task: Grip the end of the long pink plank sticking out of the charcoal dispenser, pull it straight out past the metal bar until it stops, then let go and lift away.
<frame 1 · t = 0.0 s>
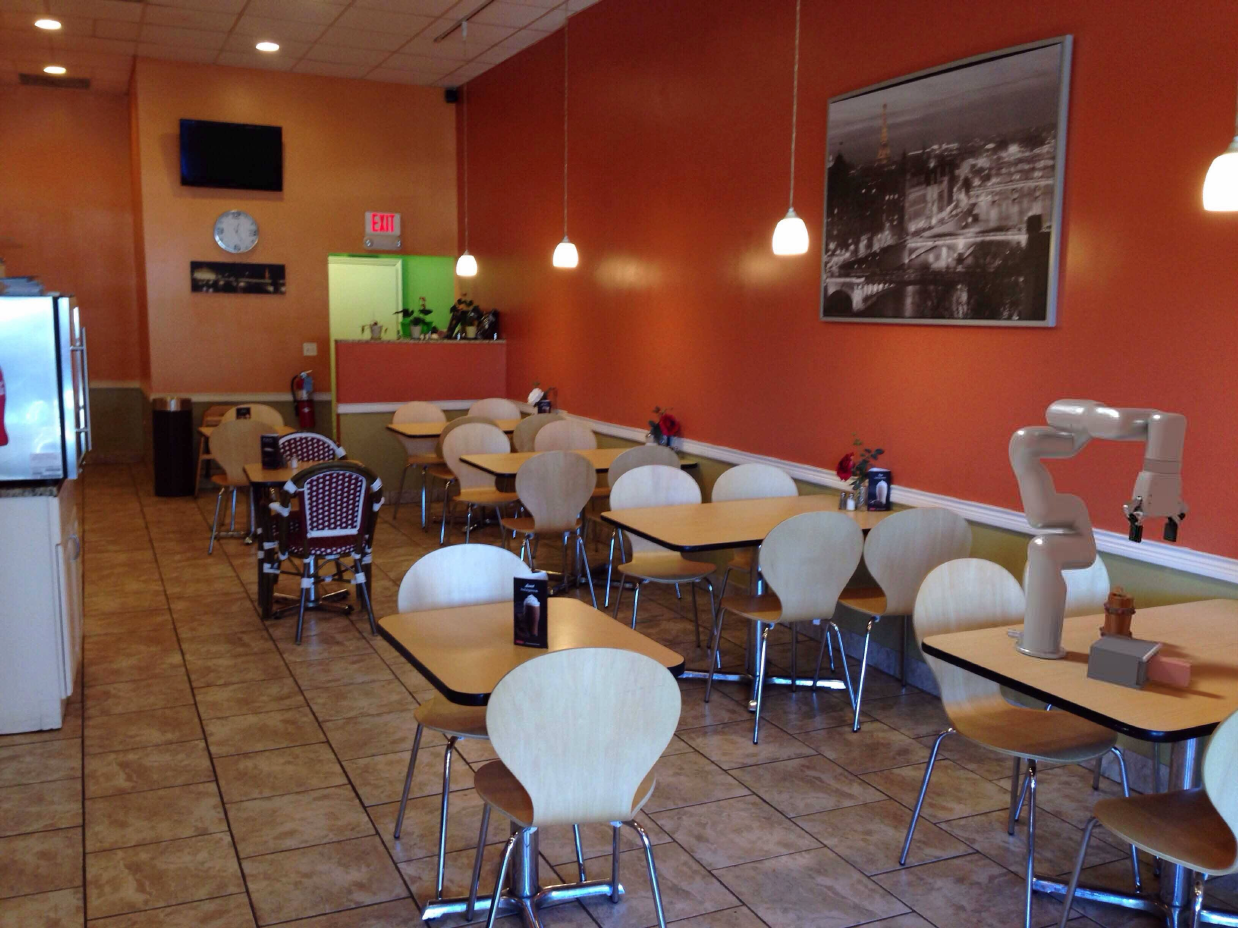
hand: (1152, 541, 237), 37 cm above the table, tool pointing down, fingers open, 9 cm apart
dispenser: (1121, 675, 257), on the table
brown wooden cylinder bundle: (1113, 643, 285), on the table
long pink plank: (1147, 665, 253), point 4 cm above the table, slide at 0.0 cm
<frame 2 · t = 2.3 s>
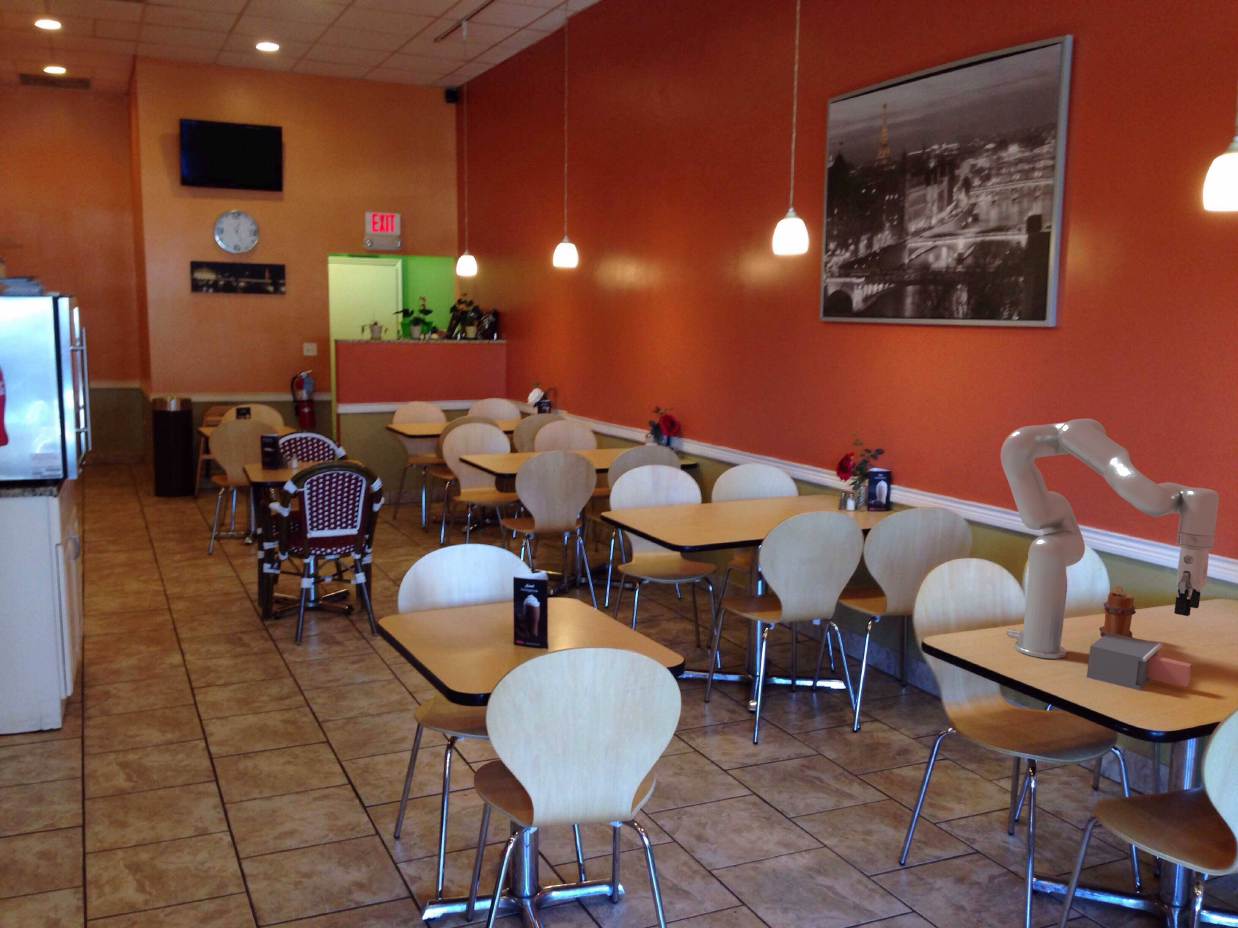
hand: (1186, 610, 247), 19 cm above the table, tool pointing down, fingers open, 9 cm apart
nothing on the table moved.
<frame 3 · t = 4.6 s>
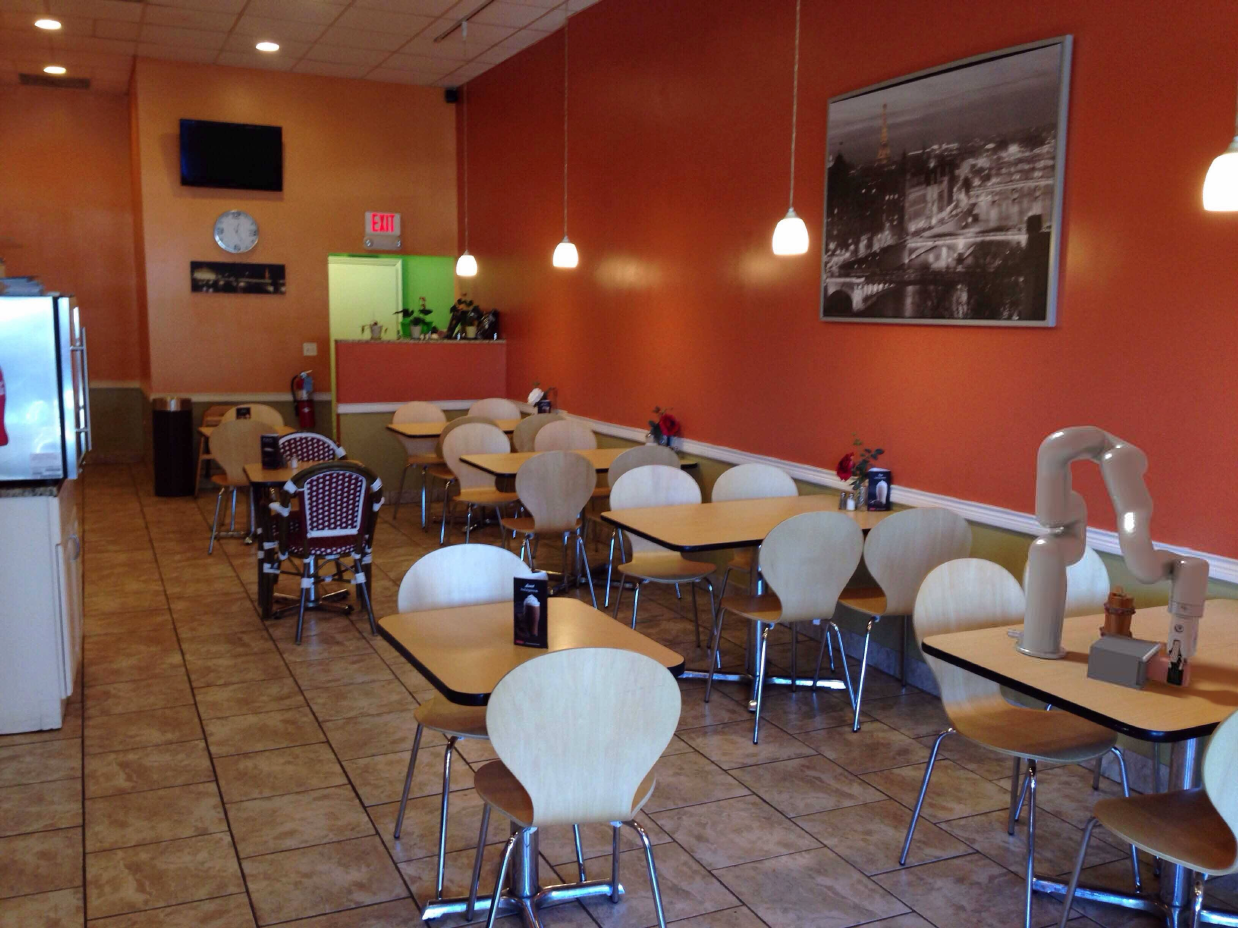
hand: (1175, 681, 250), 2 cm above the table, tool pointing down, fingers closed on long pink plank, 3 cm apart
long pink plank: (1147, 665, 253), point 4 cm above the table, slide at 0.0 cm, touching gripper
everything else where it was.
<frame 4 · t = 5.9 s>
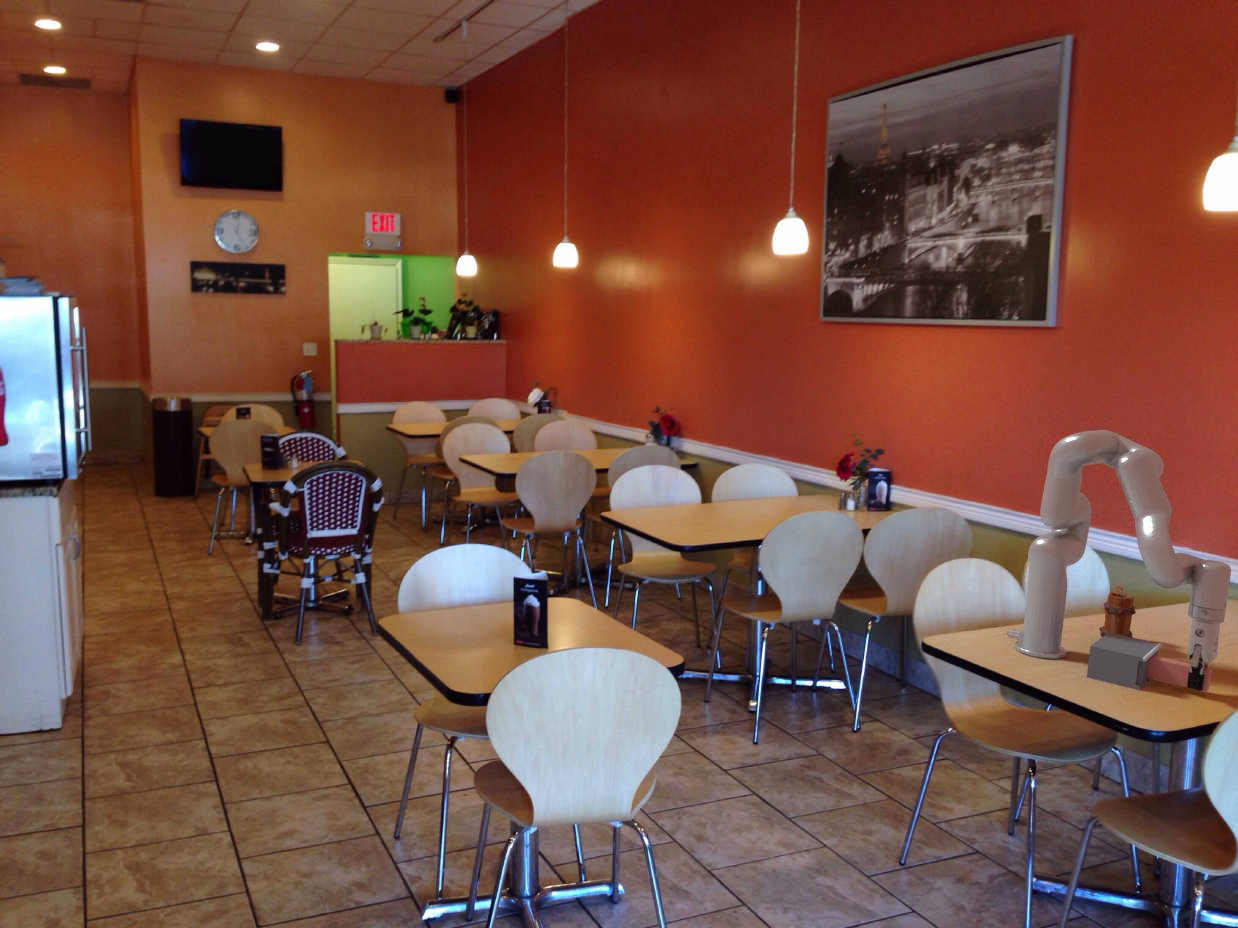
hand: (1196, 686, 247), 2 cm above the table, tool pointing down, fingers closed on long pink plank, 3 cm apart
long pink plank: (1167, 670, 251), point 4 cm above the table, slide at 4.4 cm, touching gripper
everything else where it was.
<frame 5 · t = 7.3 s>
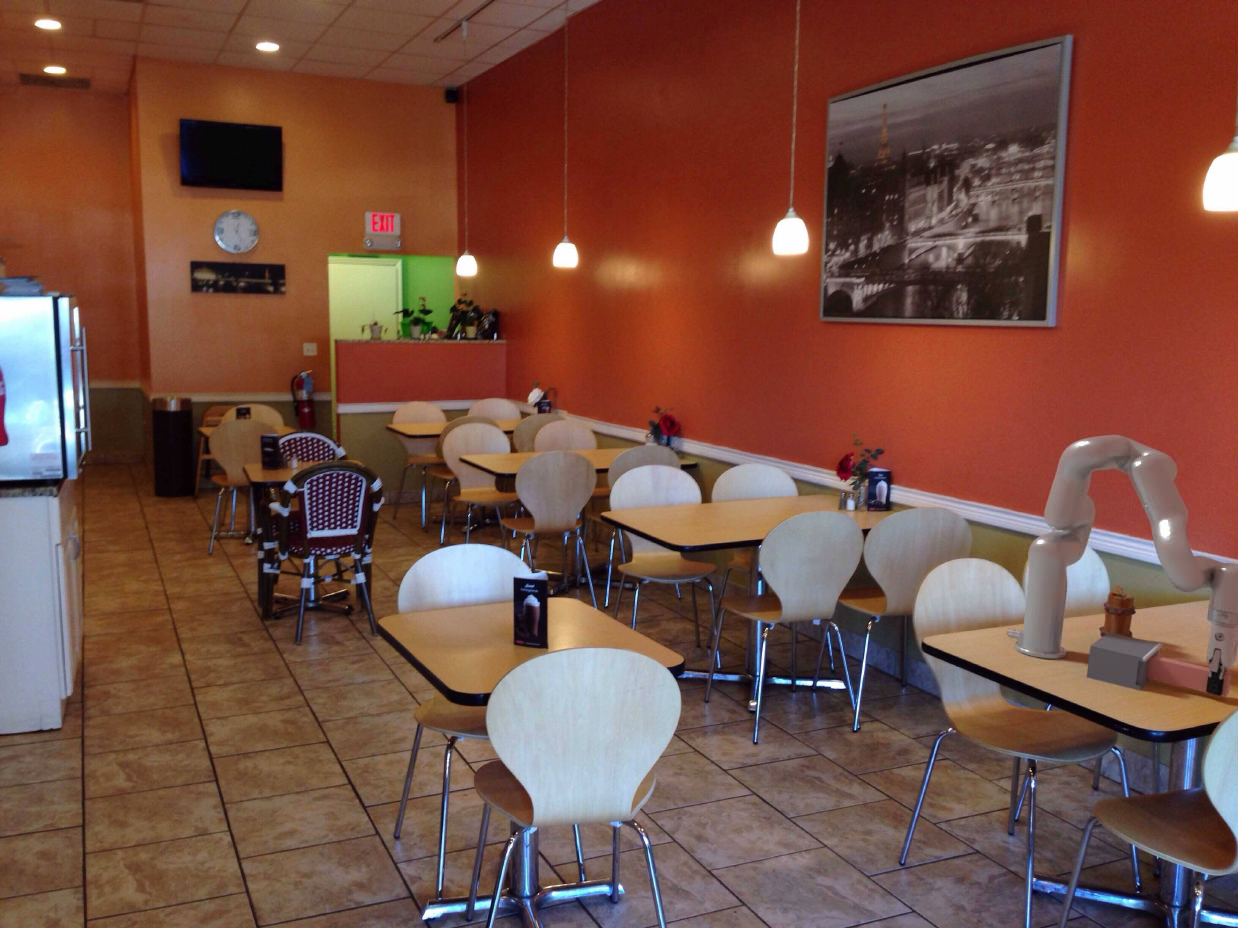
hand: (1215, 691, 244), 2 cm above the table, tool pointing down, fingers closed on long pink plank, 3 cm apart
long pink plank: (1186, 674, 248), point 4 cm above the table, slide at 8.5 cm, touching gripper
everything else where it was.
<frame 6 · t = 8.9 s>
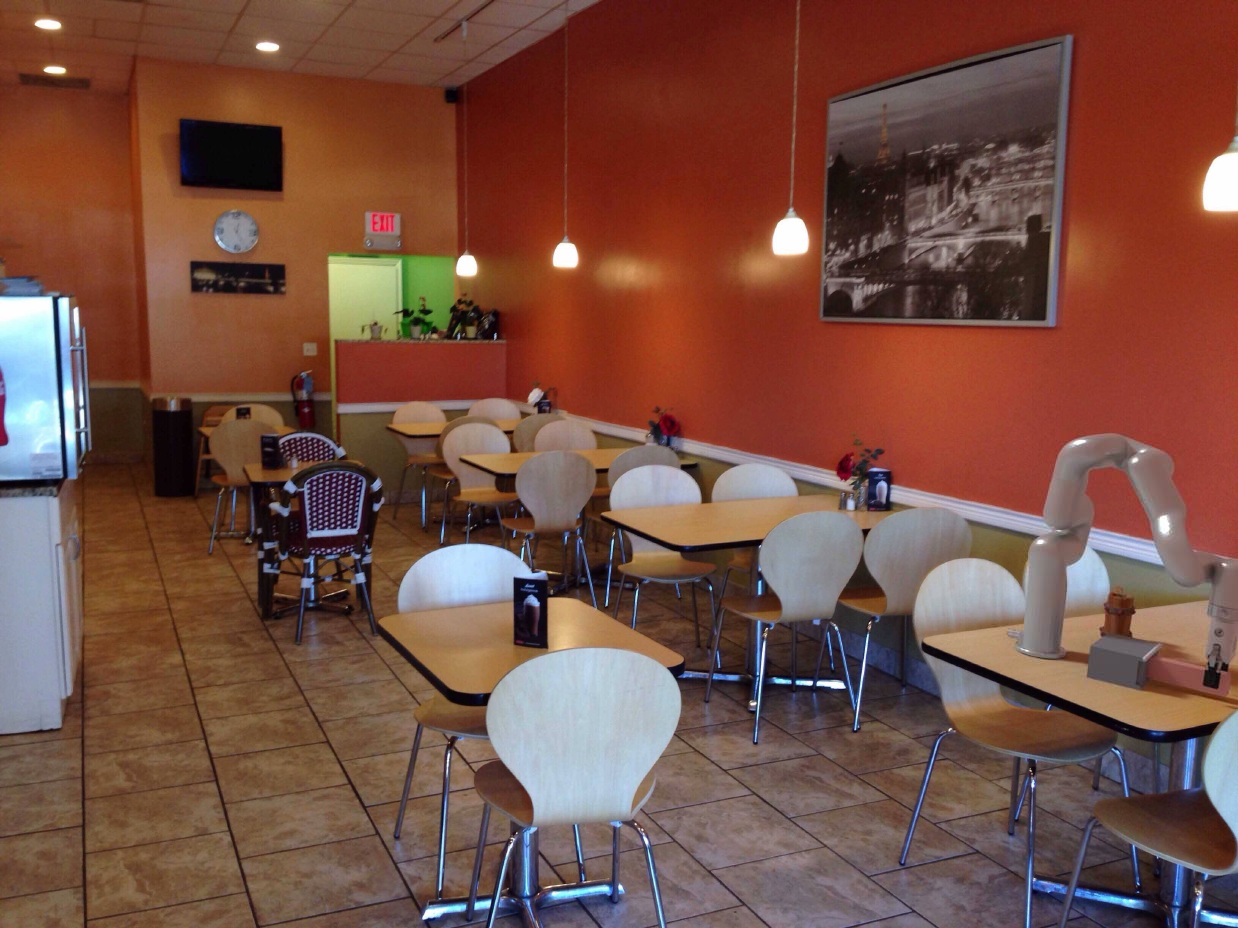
hand: (1214, 682, 244), 4 cm above the table, tool pointing down, fingers open, 9 cm apart
long pink plank: (1186, 674, 248), point 4 cm above the table, slide at 8.5 cm
everything else where it was.
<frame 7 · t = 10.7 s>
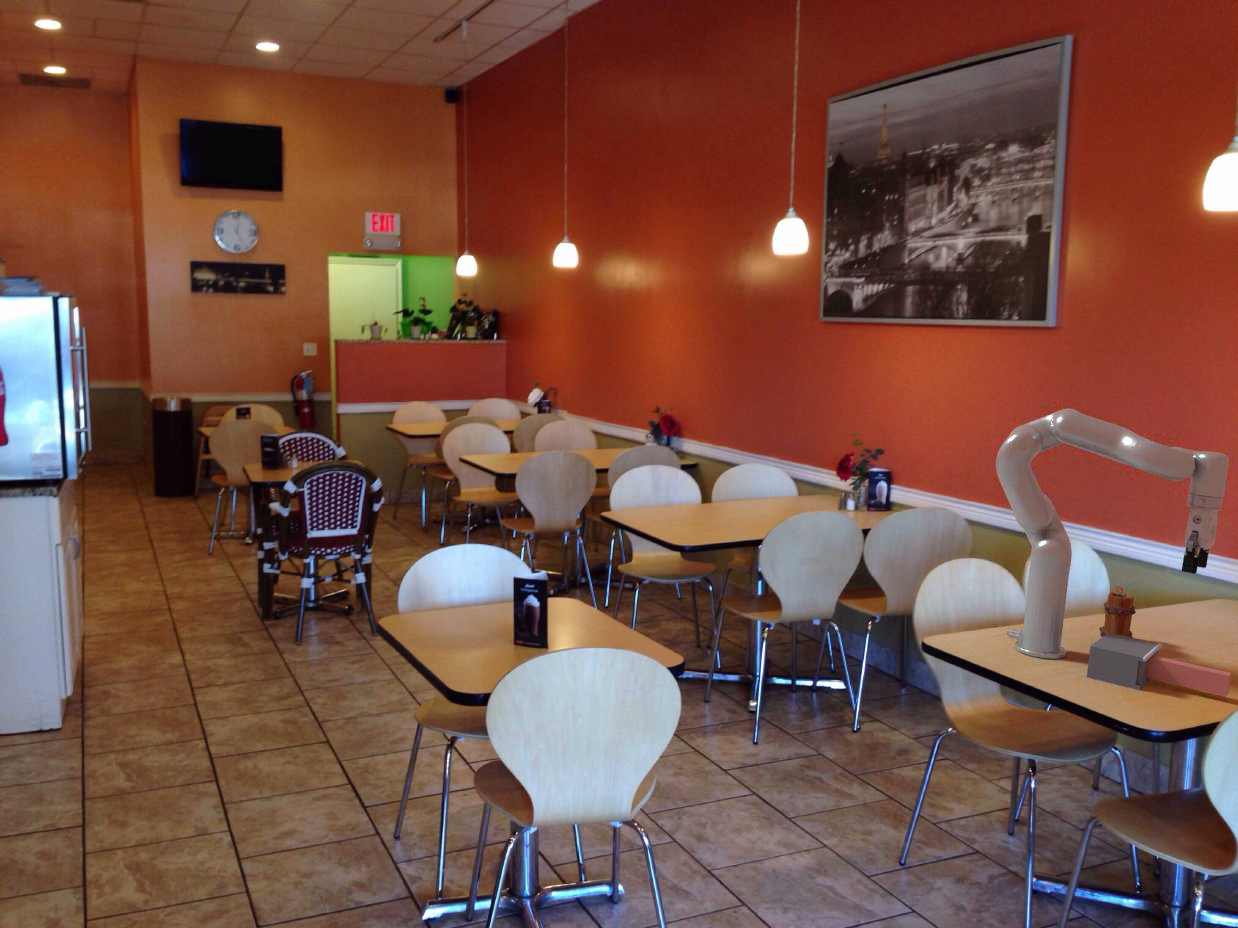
hand: (1193, 569, 257), 27 cm above the table, tool pointing down, fingers open, 9 cm apart
nothing on the table moved.
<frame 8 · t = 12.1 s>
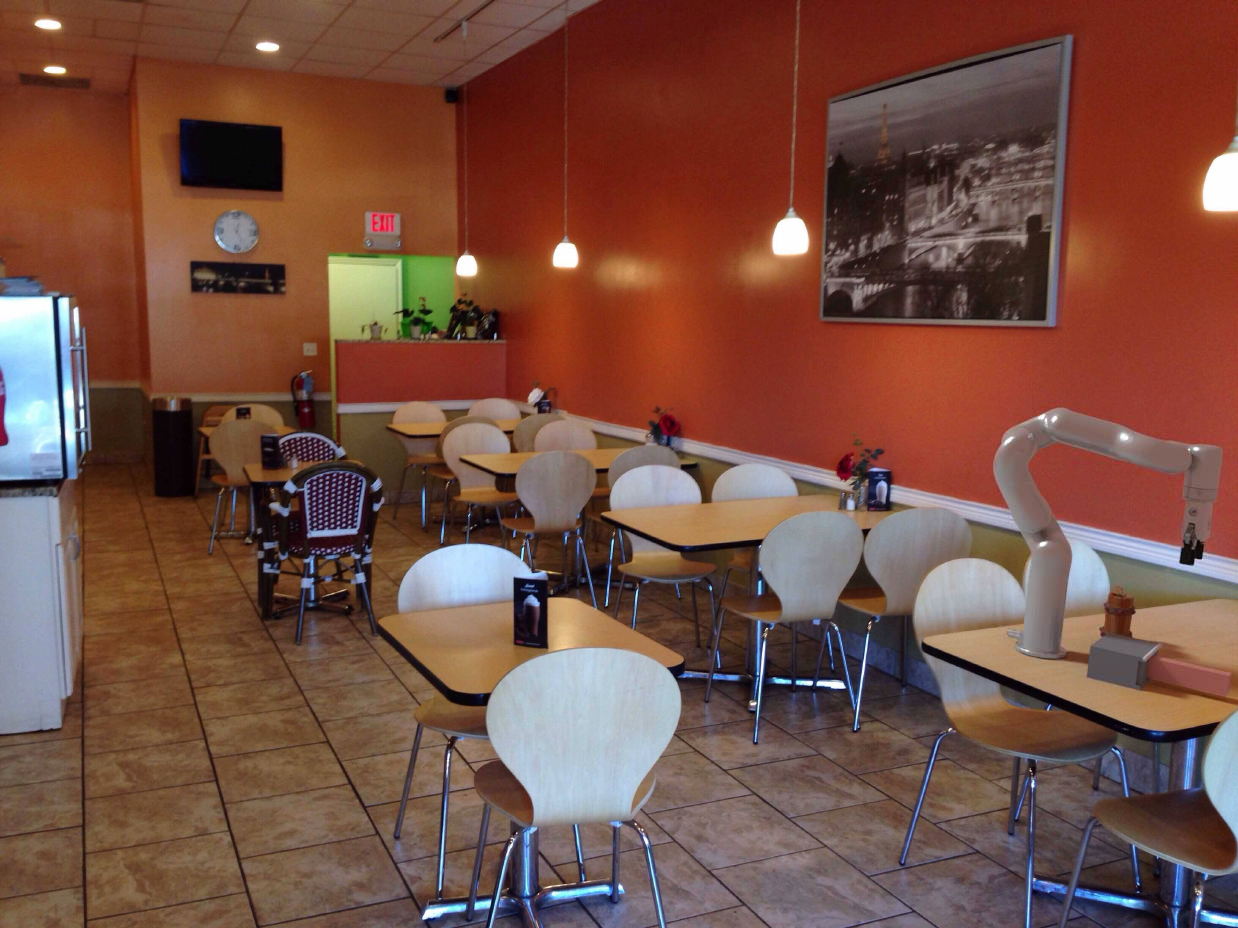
hand: (1190, 561, 260), 28 cm above the table, tool pointing down, fingers open, 9 cm apart
nothing on the table moved.
at the end: long pink plank slide at 8.5 cm; the gripper is holding nothing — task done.
